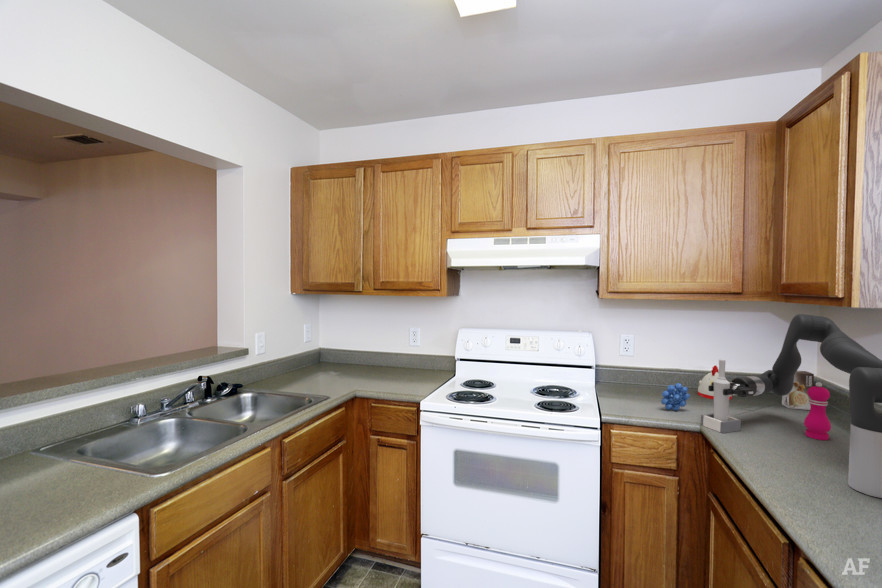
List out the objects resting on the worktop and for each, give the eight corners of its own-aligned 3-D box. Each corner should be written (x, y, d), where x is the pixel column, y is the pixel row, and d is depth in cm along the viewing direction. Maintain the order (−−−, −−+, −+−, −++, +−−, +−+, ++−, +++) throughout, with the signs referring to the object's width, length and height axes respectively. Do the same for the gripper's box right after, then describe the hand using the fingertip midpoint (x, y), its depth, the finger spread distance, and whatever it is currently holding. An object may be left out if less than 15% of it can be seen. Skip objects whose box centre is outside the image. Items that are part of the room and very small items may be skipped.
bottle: (713, 421, 160) (714, 358, 159) (729, 424, 157) (731, 359, 156) (711, 425, 156) (713, 360, 155) (728, 428, 153) (729, 361, 152)
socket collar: (740, 430, 154) (741, 420, 153) (722, 433, 151) (723, 422, 151) (718, 422, 162) (718, 412, 162) (700, 424, 159) (701, 414, 159)
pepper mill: (801, 436, 148) (803, 381, 147) (805, 431, 153) (807, 378, 152) (828, 442, 143) (831, 385, 142) (832, 437, 147) (834, 382, 147)
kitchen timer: (693, 395, 200) (694, 365, 199) (702, 390, 209) (703, 361, 209) (727, 402, 190) (728, 370, 189) (735, 396, 199) (736, 366, 198)
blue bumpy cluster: (684, 407, 181) (685, 381, 180) (692, 412, 174) (692, 385, 173) (656, 407, 182) (657, 380, 181) (663, 411, 175) (664, 384, 175)
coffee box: (805, 406, 184) (806, 370, 183) (813, 410, 178) (815, 374, 177) (781, 404, 187) (782, 369, 186) (788, 408, 180) (789, 372, 180)
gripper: (729, 373, 167) (699, 376, 162) (767, 381, 154) (735, 385, 148) (729, 391, 168) (698, 395, 162) (767, 400, 154) (735, 405, 148)
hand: (716, 390), depth 155 cm, fingers closed on bottle, 5 cm apart
